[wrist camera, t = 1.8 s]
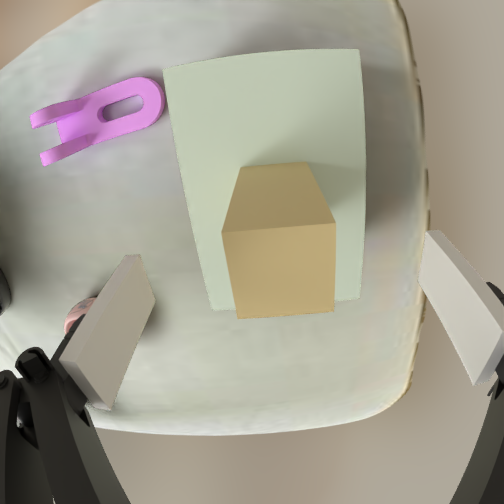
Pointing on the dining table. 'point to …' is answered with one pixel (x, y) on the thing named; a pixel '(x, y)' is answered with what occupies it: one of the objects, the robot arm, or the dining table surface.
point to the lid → (274, 176)
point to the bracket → (98, 116)
